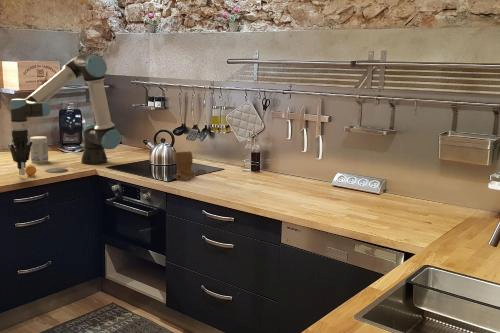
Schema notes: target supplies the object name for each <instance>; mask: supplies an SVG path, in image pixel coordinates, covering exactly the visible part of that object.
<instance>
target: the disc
mask: <svg viewBox="0 0 500 333" xmlns="http://www.w3.org/2000/svg"><path fill="white" fill-rule="evenodd" d="M44 171H45V172H46V173H48V174H49V173H50V174H58V173H59V174H61V173H65V172H68V171H69V169H67V168H64V167H54V168H53V167H52V168H51V167H50V168H47V169H45V170H44Z"/></svg>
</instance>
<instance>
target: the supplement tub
mask: <svg viewBox="0 0 500 333" xmlns="http://www.w3.org/2000/svg"><path fill="white" fill-rule="evenodd" d="M29 141H30V142H32V145H31V149H30V159H31V161H30V162H32V163H35V164H41V163H47V162H48V161H49V146H48V144H49V143H48V137H47V136H43V135H39V136H38V135H37V136H30V138H29Z"/></svg>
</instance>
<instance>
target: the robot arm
mask: <svg viewBox="0 0 500 333" xmlns="http://www.w3.org/2000/svg"><path fill="white" fill-rule="evenodd" d="M107 70H108V66H107V62H106V60H105V59H104V58H103V57H102V56H100V55H97V54H79V55H77V56H74V57H73V58H72V59H70V60H69V61H68V62H67V63H66V64H64V65H63V66H62V69H61V70H60V71H59V72H57V73H56V74H55V75H54V76H53V77H51V78H50V79H49V80H47V81H46V82H45V83H44V84H42V85H41V86H39V87H38V88H37V89H36V90H35V91H33V92H32V93H31V94H30V95H28V96H27V97H26V98H11V100H10V102H9V103H10V105H9V106H10V107H9V108H10V109H9V110H10V123H11V124H10V125H11V126H10V128H11V138H12V140H11V143H9V144H7V147H8V148H9V149H10V153H11V157H12V160H13V163H14V162H15V163H16V164H17V166H16V167H17V169H18V175H20V176H26V173H25V168H26V167H27V166H26V164H27V162H28V161H29V160H30V157H31V145H32V142H30V140H29V138H28V137H29V131H28V118H41V117H42V118H44V117H49V116H50V115H51V106H50V103H48V102H47V101H48V100H49V99H51V97H53V96H54V95H55V94H57V93H58V92H59V91H60V90H62V89H63V88H64V87H66V86H67V85H68V84H69V83H70V82H72V81H75V80H77V79H78V78H80V77H82V78H83V82H85V83H86V84H87V87H88V91H89V92H88V93H89V97H90V100H91V101H90V102H91V106H92V112H93V115H94V120H95V124H85V125H84V126H83V153H82V156H81V159H80V162H81V163H82V164H83V165H104V164H107V163H108V157H107V154H106V151H105V150H114V149H116V148H117V147H118V146H119V144H120V143H121V139H122V138H121V137H122V136H121V134H120V133H121V132H119V131H118V130H117V129H116V125H115V123H114V122H112V119H111V113H110V109H109V104H108V100H107V93H106V90H105V84H104V80H105V79H106V72H107Z"/></svg>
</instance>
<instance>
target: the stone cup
mask: <svg viewBox="0 0 500 333" xmlns="http://www.w3.org/2000/svg"><path fill="white" fill-rule="evenodd" d="M193 161H194V160H193V152H191V150H190V151H188V150H187V151H176V152H174V162H175V164H176V168H177V172H176V173H175V174H173V175H172V177H173V178H174V179H175V180H177V181H185V180H189V179H191V178H194V177H195V176H197V175H198V173H195V172H193V171H192V165H193Z"/></svg>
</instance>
